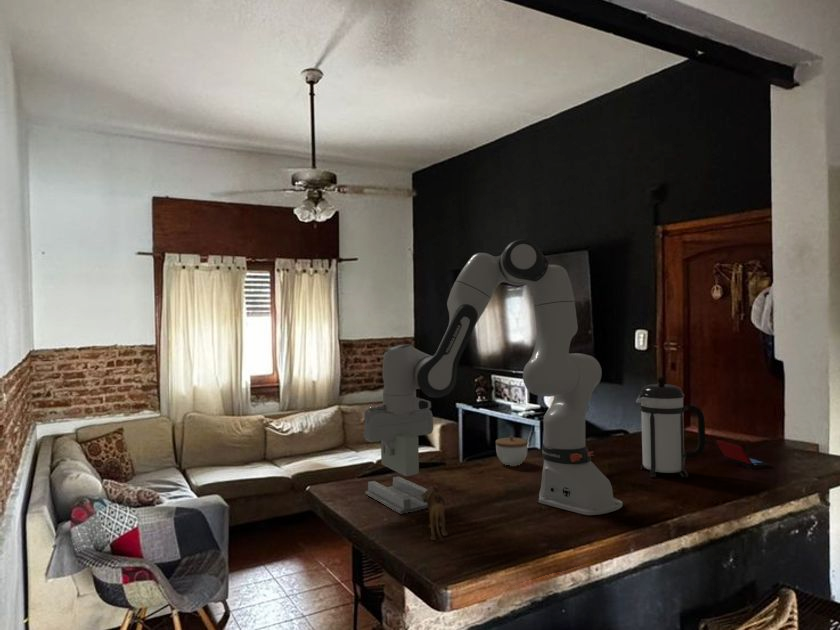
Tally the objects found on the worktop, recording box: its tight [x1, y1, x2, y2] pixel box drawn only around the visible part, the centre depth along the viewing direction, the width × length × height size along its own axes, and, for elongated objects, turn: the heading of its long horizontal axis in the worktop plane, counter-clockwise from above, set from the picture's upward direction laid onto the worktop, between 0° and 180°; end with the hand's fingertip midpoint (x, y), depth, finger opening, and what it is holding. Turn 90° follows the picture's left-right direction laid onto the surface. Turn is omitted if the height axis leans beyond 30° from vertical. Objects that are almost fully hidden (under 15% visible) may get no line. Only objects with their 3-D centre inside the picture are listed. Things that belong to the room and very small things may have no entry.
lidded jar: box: [495, 435, 529, 467], centre depth 196 cm, size 11×11×9 cm
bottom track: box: [364, 476, 429, 515], centre depth 159 cm, size 20×12×4 cm, turn 32°
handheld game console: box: [716, 439, 771, 469], centre depth 190 cm, size 12×11×7 cm
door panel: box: [380, 433, 420, 477], centre depth 160 cm, size 14×4×10 cm, turn 31°
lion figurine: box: [421, 485, 448, 542], centre depth 136 cm, size 15×5×9 cm, turn 10°
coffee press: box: [635, 376, 706, 479], centre depth 181 cm, size 17×16×30 cm
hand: (399, 453), depth 160 cm, fingers closed on door panel, 4 cm apart
